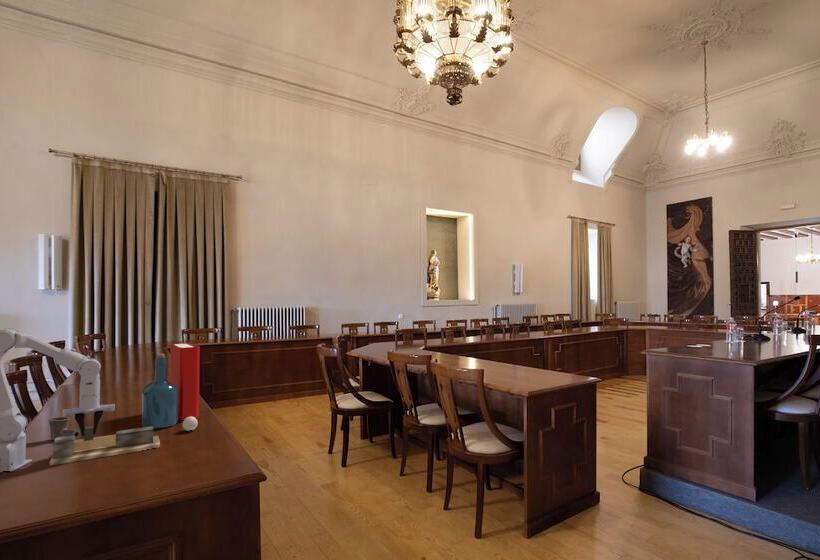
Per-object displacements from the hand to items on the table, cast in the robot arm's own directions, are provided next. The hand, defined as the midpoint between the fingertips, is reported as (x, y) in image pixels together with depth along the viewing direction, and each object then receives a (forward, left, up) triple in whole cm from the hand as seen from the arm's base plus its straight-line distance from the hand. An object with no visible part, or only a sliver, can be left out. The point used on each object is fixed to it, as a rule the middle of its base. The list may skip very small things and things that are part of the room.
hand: (88, 434), depth 153 cm
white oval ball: (+22, -27, -7) cm, 36 cm away
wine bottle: (+32, -11, -7) cm, 35 cm away
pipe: (+19, +18, -7) cm, 27 cm away
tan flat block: (+1, -3, -5) cm, 5 cm away
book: (+51, -15, -7) cm, 54 cm away
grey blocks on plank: (+2, -5, -7) cm, 9 cm away
